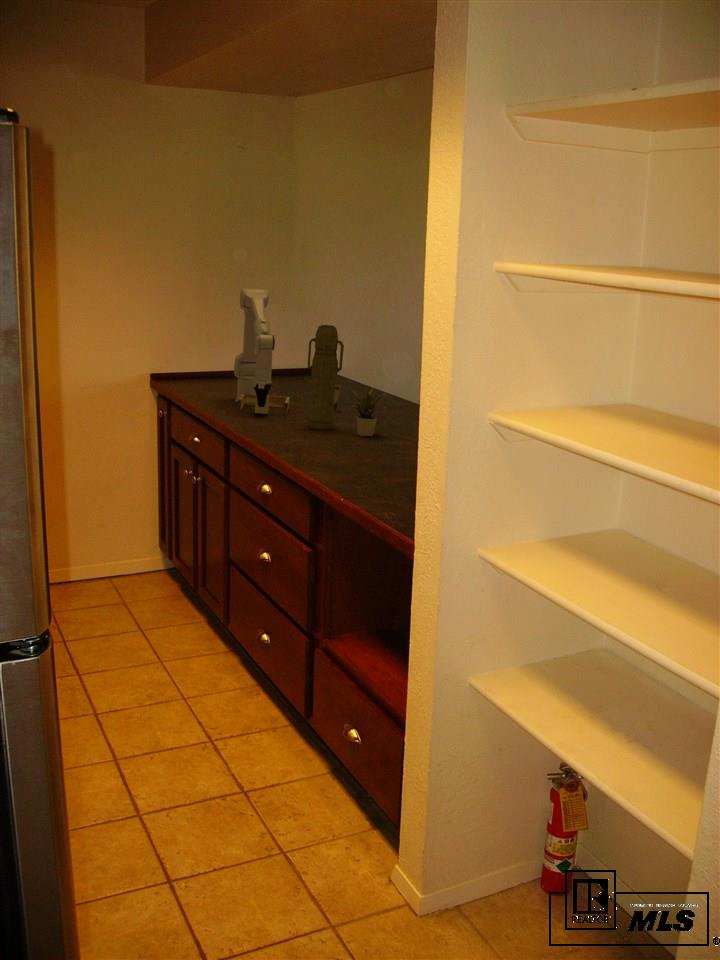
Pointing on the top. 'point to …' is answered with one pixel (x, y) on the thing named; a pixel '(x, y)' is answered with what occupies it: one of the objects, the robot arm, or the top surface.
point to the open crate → (273, 401)
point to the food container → (336, 396)
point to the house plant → (366, 414)
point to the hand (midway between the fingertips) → (261, 405)
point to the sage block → (262, 409)
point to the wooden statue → (324, 377)
